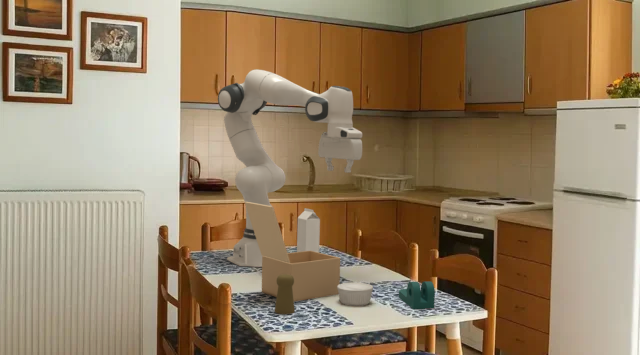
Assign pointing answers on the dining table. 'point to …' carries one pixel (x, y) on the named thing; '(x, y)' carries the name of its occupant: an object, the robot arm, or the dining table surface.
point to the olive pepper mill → (285, 295)
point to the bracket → (418, 295)
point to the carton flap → (267, 231)
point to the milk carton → (308, 231)
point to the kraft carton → (303, 274)
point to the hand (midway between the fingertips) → (338, 171)
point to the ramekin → (355, 293)
